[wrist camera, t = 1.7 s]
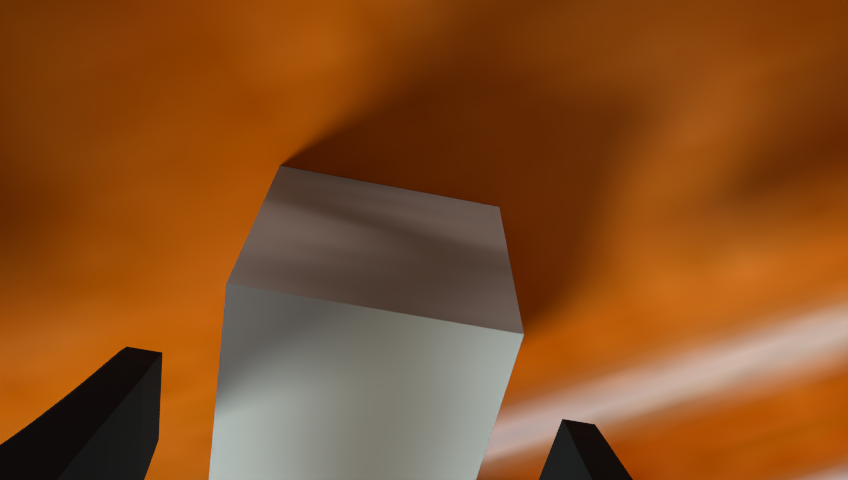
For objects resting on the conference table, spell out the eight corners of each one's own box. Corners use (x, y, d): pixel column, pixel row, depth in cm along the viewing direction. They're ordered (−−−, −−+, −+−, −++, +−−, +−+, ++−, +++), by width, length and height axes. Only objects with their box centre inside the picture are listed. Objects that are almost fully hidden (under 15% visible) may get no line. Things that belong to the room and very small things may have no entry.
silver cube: (258, 342, 19) (207, 497, 14) (280, 164, 16) (226, 283, 12) (451, 375, 19) (457, 534, 15) (498, 205, 17) (524, 334, 12)
